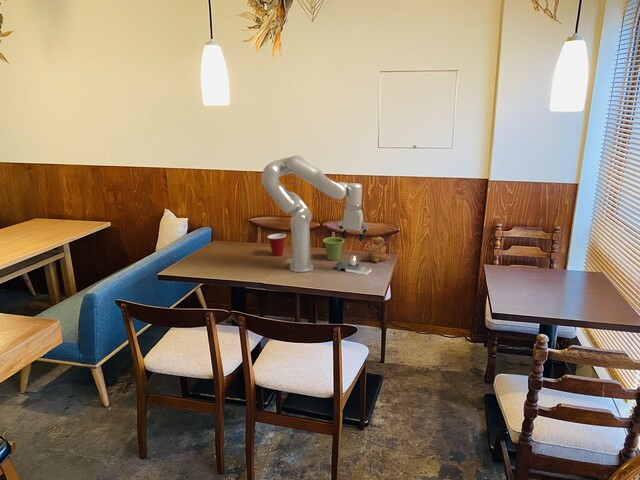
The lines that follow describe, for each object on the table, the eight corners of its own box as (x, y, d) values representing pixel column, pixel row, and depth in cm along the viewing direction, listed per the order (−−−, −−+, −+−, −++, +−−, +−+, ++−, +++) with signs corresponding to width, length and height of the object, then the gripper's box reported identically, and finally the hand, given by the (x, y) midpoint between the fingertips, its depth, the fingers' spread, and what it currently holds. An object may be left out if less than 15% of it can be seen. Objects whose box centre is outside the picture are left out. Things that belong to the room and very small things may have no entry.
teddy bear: (391, 258, 276) (391, 236, 273) (378, 265, 265) (379, 242, 262) (375, 255, 282) (376, 233, 278) (363, 261, 271) (363, 239, 267)
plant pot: (319, 258, 277) (318, 239, 274) (333, 254, 284) (334, 236, 281) (333, 263, 268) (333, 244, 265) (348, 259, 276) (348, 240, 273)
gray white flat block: (335, 269, 258) (335, 264, 257) (340, 265, 264) (340, 260, 263) (366, 274, 250) (366, 269, 249) (371, 270, 256) (371, 265, 255)
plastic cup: (270, 251, 290) (269, 232, 287) (288, 252, 289) (287, 233, 286) (266, 257, 280) (265, 237, 277) (284, 258, 278) (283, 237, 275)
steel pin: (349, 270, 257) (349, 256, 254) (351, 269, 259) (351, 254, 257) (354, 271, 255) (354, 257, 253) (357, 269, 258) (357, 255, 256)
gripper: (335, 207, 249) (334, 239, 253) (366, 210, 241) (365, 243, 246) (341, 204, 255) (340, 235, 260) (372, 208, 247) (370, 240, 252)
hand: (352, 239), depth 253 cm, fingers open, 9 cm apart
